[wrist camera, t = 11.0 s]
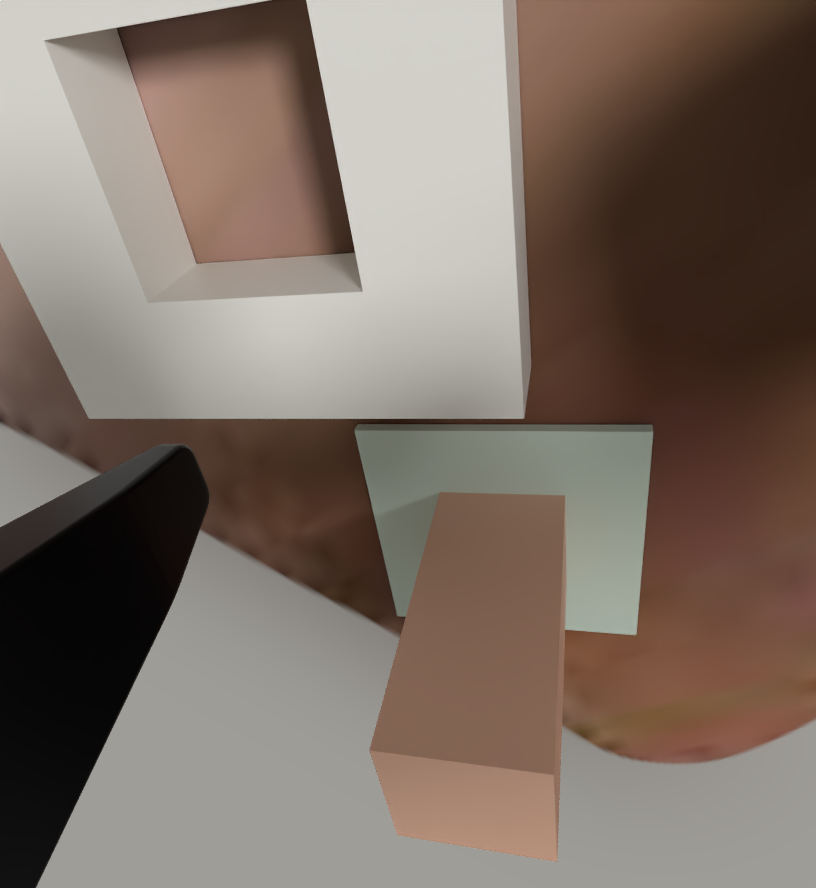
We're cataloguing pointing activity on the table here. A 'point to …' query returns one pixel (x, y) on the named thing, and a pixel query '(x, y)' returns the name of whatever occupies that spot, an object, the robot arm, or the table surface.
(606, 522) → the mat
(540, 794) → the peg
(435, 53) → the dock
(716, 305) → the table surface
